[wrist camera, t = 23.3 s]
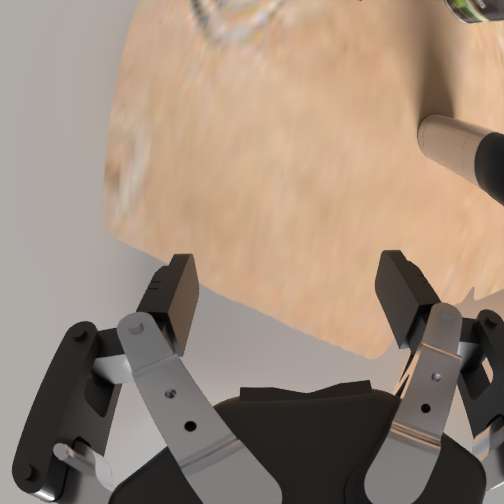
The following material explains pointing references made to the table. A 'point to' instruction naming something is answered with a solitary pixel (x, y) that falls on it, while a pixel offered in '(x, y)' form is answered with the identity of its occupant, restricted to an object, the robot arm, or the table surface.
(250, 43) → the table surface
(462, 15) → the coffee can
